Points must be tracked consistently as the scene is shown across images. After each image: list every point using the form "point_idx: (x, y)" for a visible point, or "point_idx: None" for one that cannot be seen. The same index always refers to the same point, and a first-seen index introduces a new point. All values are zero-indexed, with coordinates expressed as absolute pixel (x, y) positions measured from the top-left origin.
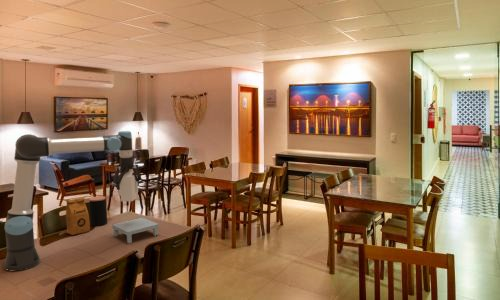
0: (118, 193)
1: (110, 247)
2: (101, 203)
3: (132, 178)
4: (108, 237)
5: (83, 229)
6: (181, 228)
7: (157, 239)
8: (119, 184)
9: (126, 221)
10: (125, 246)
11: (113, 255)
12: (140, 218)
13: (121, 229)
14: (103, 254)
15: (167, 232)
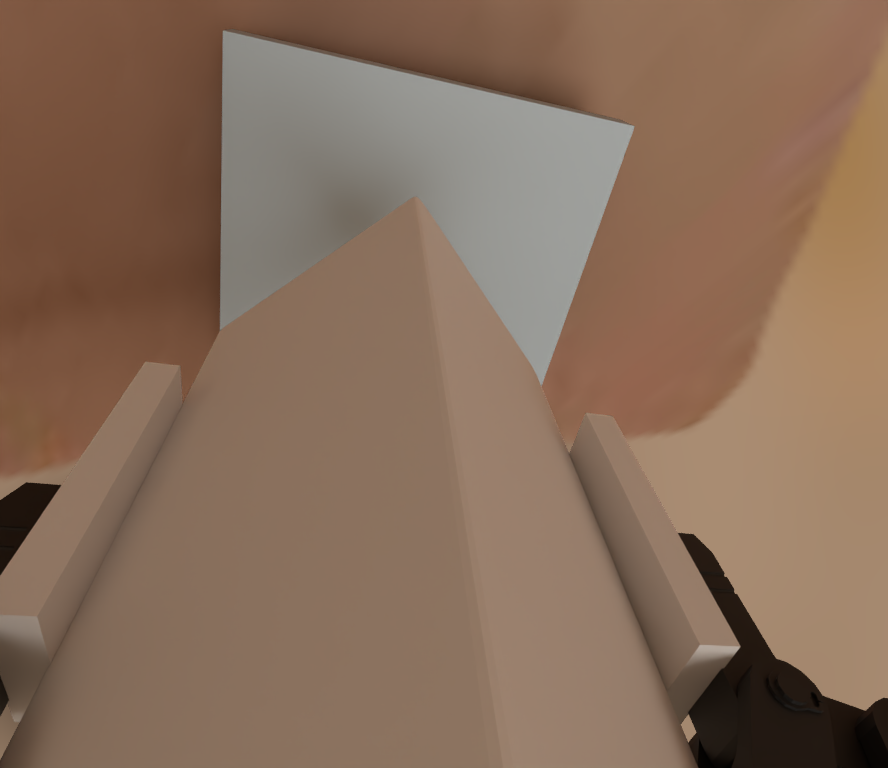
0: (133, 385)
1: (98, 293)
2: None
3: None
4: (194, 27)
5: None
6: (697, 400)
7: None
8: (8, 700)
9: (421, 86)
10: (200, 366)
11: (59, 431)
12: (595, 140)
13: (220, 286)
14: (2, 368)
15: (581, 384)
